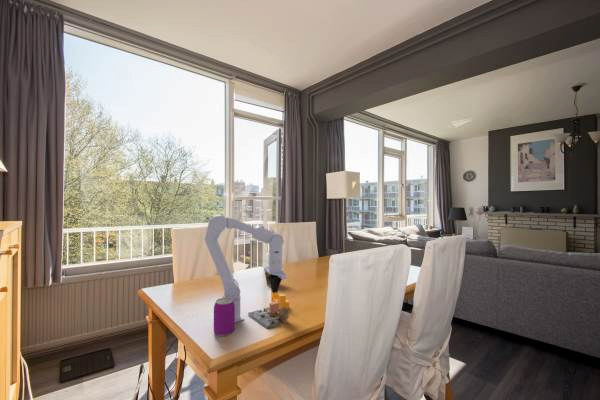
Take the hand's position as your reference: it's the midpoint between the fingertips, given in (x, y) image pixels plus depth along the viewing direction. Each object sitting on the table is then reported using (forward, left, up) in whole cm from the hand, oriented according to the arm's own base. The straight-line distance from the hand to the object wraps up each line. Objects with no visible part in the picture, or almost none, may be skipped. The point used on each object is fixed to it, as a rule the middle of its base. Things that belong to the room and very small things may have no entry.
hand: (274, 292), depth 125 cm
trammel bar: (-4, -2, -10) cm, 11 cm away
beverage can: (-24, -3, -10) cm, 26 cm away
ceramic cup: (+23, +38, -10) cm, 45 cm away
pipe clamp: (+8, +8, -10) cm, 16 cm away
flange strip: (-7, -2, -10) cm, 12 cm away
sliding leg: (-4, -1, -8) cm, 9 cm away
